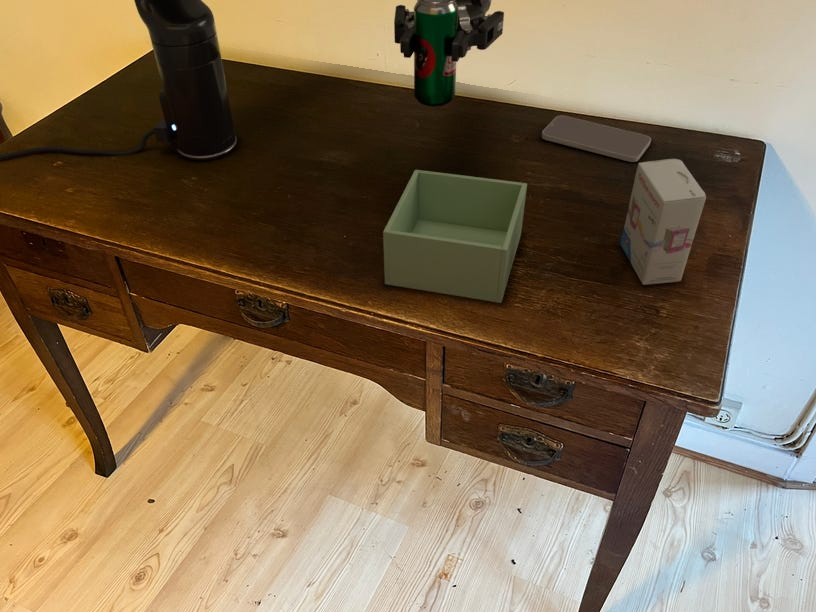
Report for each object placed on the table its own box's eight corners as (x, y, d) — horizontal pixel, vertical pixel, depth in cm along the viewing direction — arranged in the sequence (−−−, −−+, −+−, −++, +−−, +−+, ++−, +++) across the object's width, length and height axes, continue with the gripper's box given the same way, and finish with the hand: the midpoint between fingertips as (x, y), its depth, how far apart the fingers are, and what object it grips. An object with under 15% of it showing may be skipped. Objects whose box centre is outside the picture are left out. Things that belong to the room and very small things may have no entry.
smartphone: (636, 158, 105) (539, 133, 111) (635, 164, 106) (538, 139, 112) (653, 137, 110) (558, 114, 116) (651, 142, 110) (558, 119, 116)
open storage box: (384, 284, 89) (382, 231, 83) (414, 220, 98) (414, 169, 93) (501, 303, 85) (507, 249, 80) (520, 234, 95) (527, 183, 90)
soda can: (452, 109, 89) (456, 5, 80) (411, 107, 90) (410, 5, 81) (457, 90, 92) (460, -11, 84) (417, 89, 93) (417, -11, 85)
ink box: (616, 244, 93) (637, 159, 84) (655, 240, 93) (679, 155, 84) (640, 286, 86) (665, 199, 78) (682, 282, 87) (711, 195, 78)
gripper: (407, -35, 95) (369, 13, 83) (518, -30, 91) (495, 21, 80) (408, 25, 100) (372, 78, 89) (513, 32, 97) (490, 88, 85)
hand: (430, 51), depth 84 cm, fingers closed on soda can, 5 cm apart
